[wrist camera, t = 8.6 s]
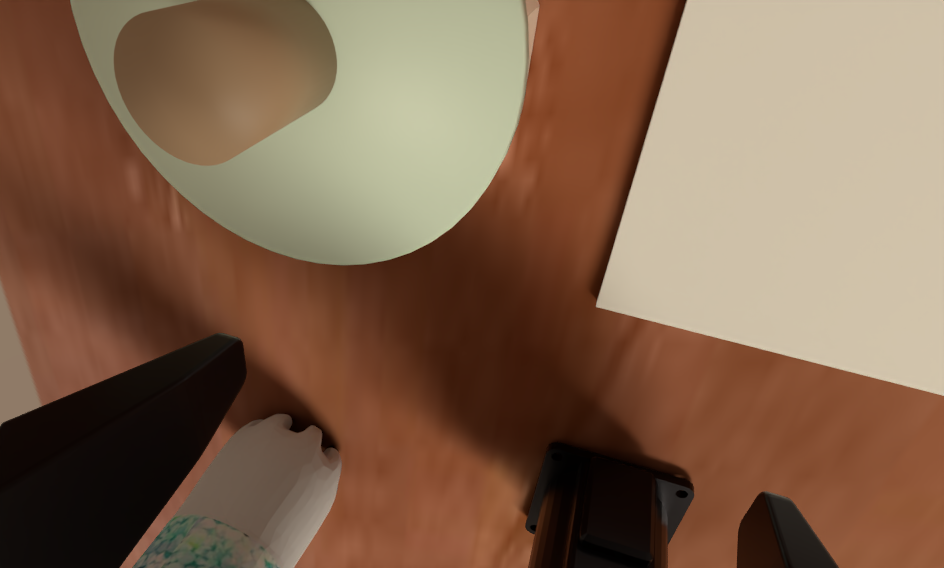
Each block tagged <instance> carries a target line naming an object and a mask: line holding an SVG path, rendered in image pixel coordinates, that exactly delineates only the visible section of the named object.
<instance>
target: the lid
mask: <svg viewBox="0 0 944 568" xmlns="http://www.w3.org/2000/svg"><path fill="white" fill-rule="evenodd" d="M70 2H71V7H72V12H73V15H74V18H75V22H76V25H77V28H78V32H79V35H80V38H81V42H82V44H83V47H84V49H85V52H86V54H87V57H88V59H89V62H90V64H91V67H92V69H93V72H94V74H95V76H96V78H97V80H98V82H99V84H100V86H101V88H102V90H103V92H104V94H105V96H106V98H107V100H108V102H109V104H110V105H111V107H112V109H113V110H114V112H115V114H116V115H117V117H118V118H119V120H120V122H121V123H122V125H123V127H124V128H125V130H126V131H127V132H128V134H129V135H130V137H131V138H132V139H133V141H134V142H135V143H136V145H137V146H138V148H139V149H140V150H141V152H142V153H143V154H144V155H145V156H146V158H147V159H148V160H149V161H150V162H151V163H152V165H153V166H154V167H155V168H156V169H157V170H158V172H159V173H160V174H161V175H162V176H163V177H164V178H165V179H166V180H167V181H168V182H169V183H170V184H171V185H172V186H173V187H174V188H175V189H176V190H177V191H178V192H179V193H180V194H181V195H182V196H184V197H185V198H186V199H187V200H188V201H190V202H191V203H192V204H193V205H194V206H196V207H197V208H198V209H199V210H200V211H202V212H203V213H204V214H206V215H207V216H209V217H210V218H211V219H213V220H214V221H216V222H217V223H219V224H220V225H222V226H223V227H225V228H226V229H228V230H230V231H231V232H233V233H235V234H237V235H239V236H240V237H242V238H244V239H246V240H248V241H250V242H252V243H254V244H256V245H259V246H261V247H263V248H266V249H268V250H270V251H273V252H276V253H279V254H282V255H285V256H288V257H292V258H295V259H299V260H304V261H309V262H314V263H320V264H333V265H359V264H370V263H375V262H381V261H386V260H390V259H393V258H396V257H399V256H402V255H405V254H408V253H411V252H413V251H415V250H417V249H419V248H421V247H423V246H425V245H427V244H429V243H431V242H433V241H434V240H435V239H437V238H438V237H440V236H441V235H442V234H444V233H445V232H447V231H448V230H449V229H451V228H452V227H453V226H454V225H455V224H456V223H457V222H458V221H459V220H460V219H461V218H462V217H464V216H465V215H466V214H467V213H468V212H469V211H470V210H471V208H472V207H473V206H474V204H475V203H476V202H477V201H478V199H479V198H480V197H481V195H482V194H483V193H484V191H485V190H486V189H487V187H488V186H489V184H490V182H491V181H492V179H493V178H494V176H495V174H496V172H497V170H498V169H499V167H500V165H501V163H502V161H503V159H504V158H505V156H506V154H507V152H508V150H509V147H510V144H511V142H512V139H513V136H514V134H515V131H516V129H517V126H518V123H519V119H520V114H521V110H522V106H523V102H524V97H525V93H526V84H527V74H528V64H529V30H528V16H527V9H526V2H525V0H70Z"/></svg>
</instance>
